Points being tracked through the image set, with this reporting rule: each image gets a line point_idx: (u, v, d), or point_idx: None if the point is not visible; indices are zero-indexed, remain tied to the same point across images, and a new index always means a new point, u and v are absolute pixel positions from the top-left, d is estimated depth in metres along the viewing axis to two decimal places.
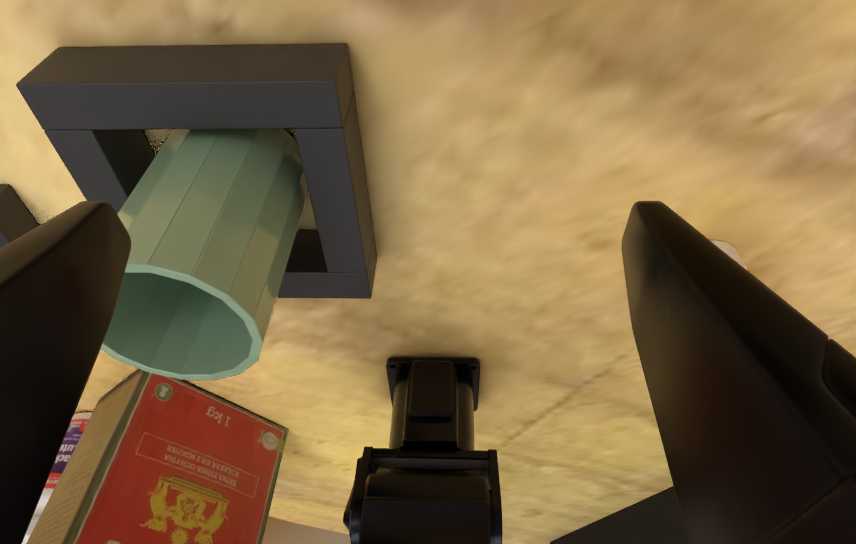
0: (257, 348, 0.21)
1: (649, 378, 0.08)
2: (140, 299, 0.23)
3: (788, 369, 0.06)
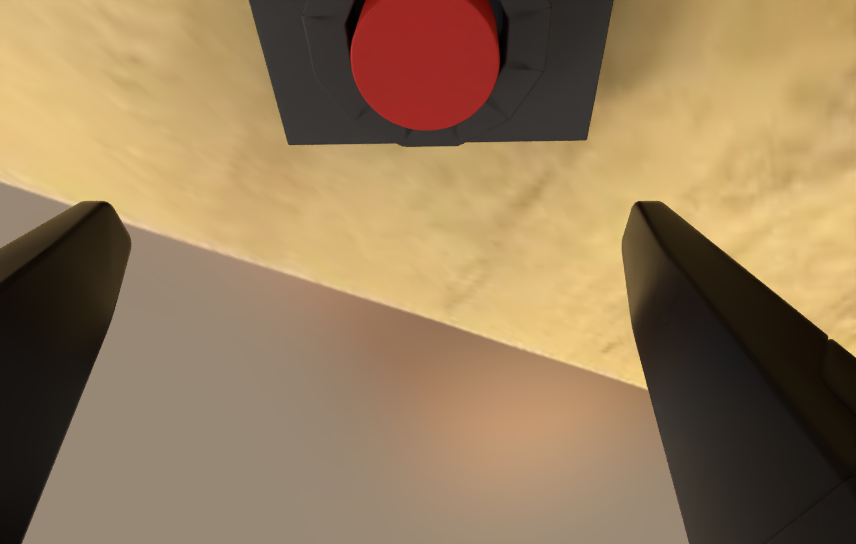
0: None
1: (648, 378, 0.08)
2: None
3: (788, 369, 0.06)
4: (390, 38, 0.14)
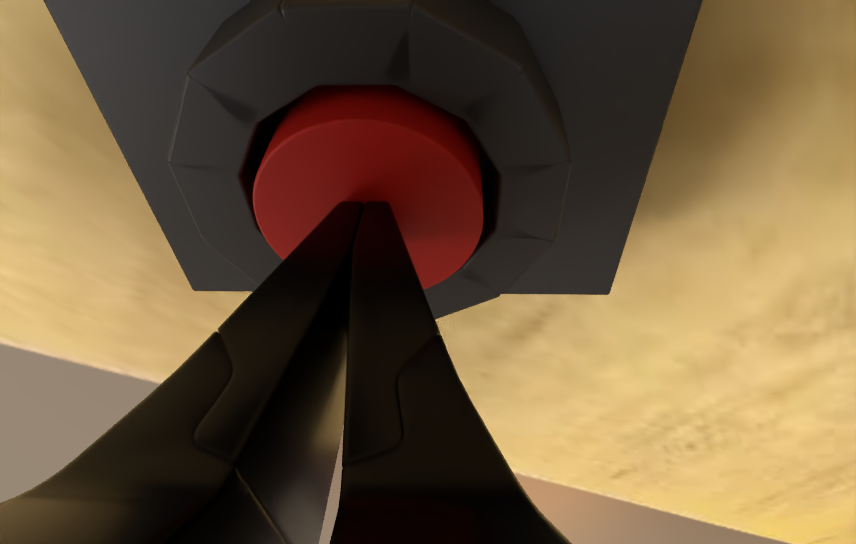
0: None
1: None
2: None
3: (370, 363, 0.06)
4: (312, 186, 0.09)
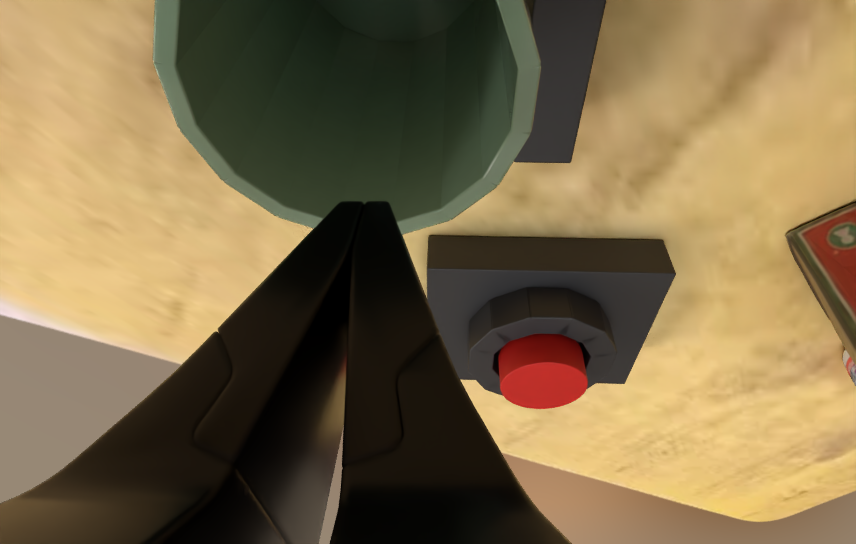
0: None
1: None
2: (430, 145, 0.14)
3: (370, 363, 0.06)
4: (527, 377, 0.25)
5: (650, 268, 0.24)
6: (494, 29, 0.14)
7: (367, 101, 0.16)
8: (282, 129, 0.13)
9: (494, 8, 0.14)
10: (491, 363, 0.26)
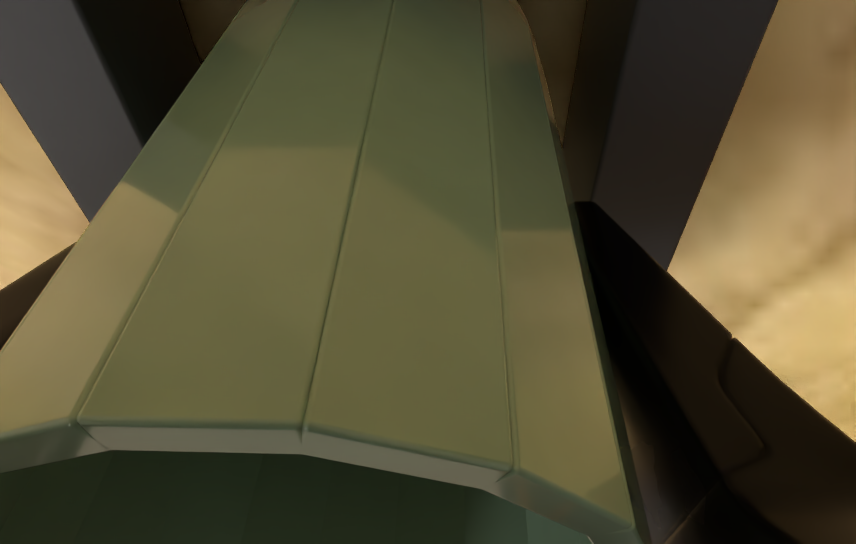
0: (378, 454, 0.03)
1: None
2: None
3: (684, 368, 0.06)
4: None
5: None
6: None
7: None
8: (225, 455, 0.09)
9: None
10: None
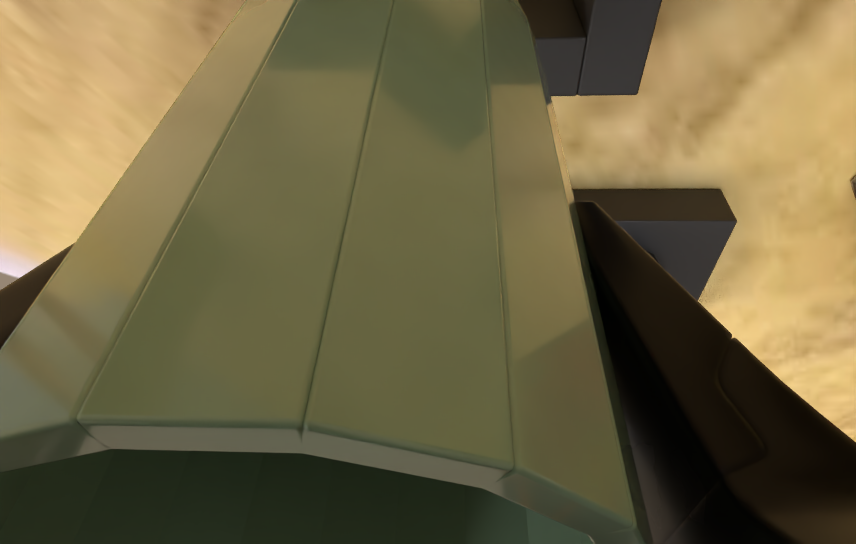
0: (379, 453, 0.03)
1: None
2: None
3: (684, 367, 0.06)
4: None
5: (709, 216, 0.23)
6: None
7: None
8: (224, 455, 0.09)
9: None
10: None
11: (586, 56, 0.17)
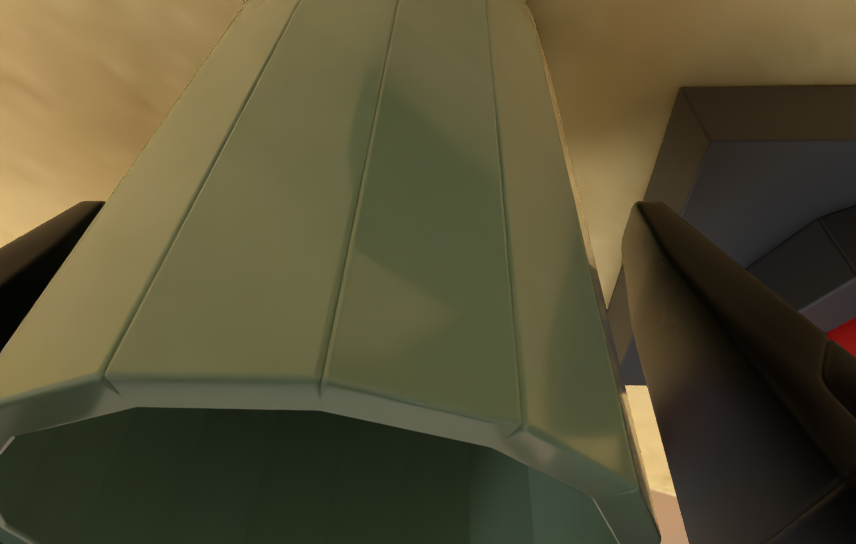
0: (393, 409, 0.03)
1: (647, 378, 0.08)
2: (450, 442, 0.09)
3: (788, 369, 0.06)
4: None
5: None
6: None
7: None
8: (233, 438, 0.09)
9: None
10: None
11: None
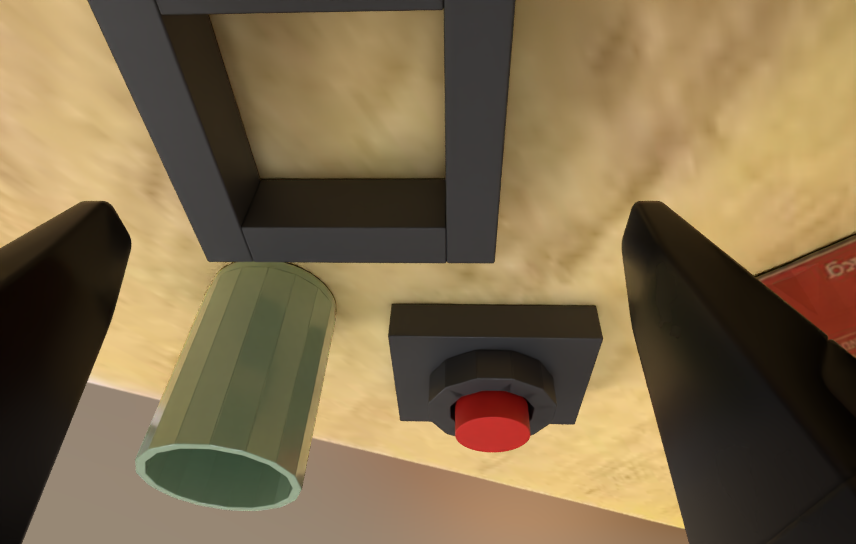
0: (222, 449, 0.21)
1: (648, 378, 0.08)
2: None
3: (788, 369, 0.06)
4: (477, 428, 0.29)
5: (581, 333, 0.28)
6: None
7: None
8: (204, 450, 0.26)
9: None
10: (448, 413, 0.30)
11: (448, 239, 0.22)
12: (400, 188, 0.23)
